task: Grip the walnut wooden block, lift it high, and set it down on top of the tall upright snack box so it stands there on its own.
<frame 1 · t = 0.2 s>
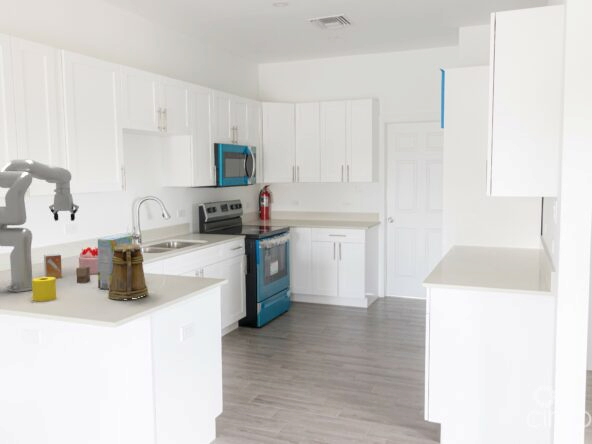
hand: (64, 220, 311), 31 cm above the counter, tool pointing down, fingers open, 9 cm apart
small box: (53, 277, 300), on the counter
walnut block: (83, 282, 287), on the counter
tankard: (129, 297, 253), on the counter
cake: (97, 271, 318), on the counter
tape roll: (44, 299, 251), on the counter
snack box: (116, 285, 280), on the counter
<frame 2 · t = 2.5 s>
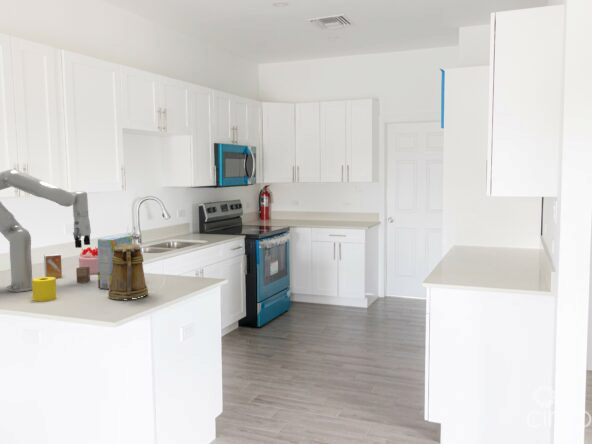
hand: (82, 246, 285), 20 cm above the counter, tool pointing down, fingers open, 9 cm apart
nothing on the counter moved.
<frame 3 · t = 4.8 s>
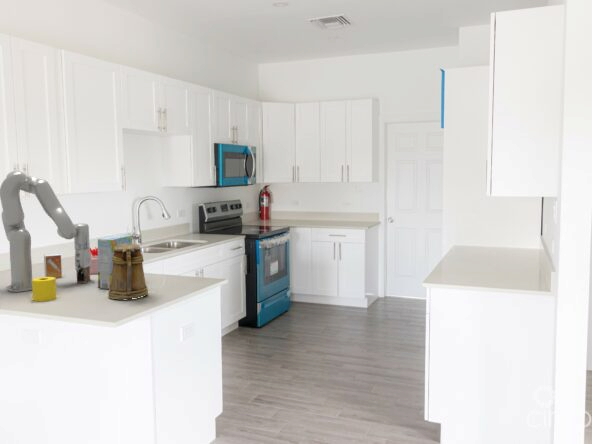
hand: (83, 279, 287), 1 cm above the counter, tool pointing down, fingers closed on walnut block, 5 cm apart
walnut block: (83, 282, 287), on the counter, touching gripper
everything else where it was.
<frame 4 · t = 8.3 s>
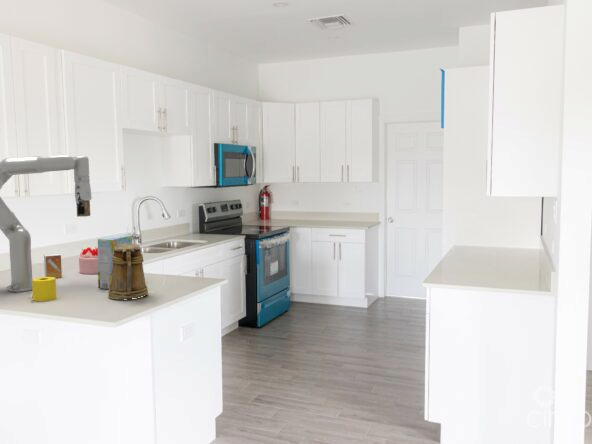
hand: (83, 213, 283), 38 cm above the counter, tool pointing down, fingers closed on walnut block, 5 cm apart
walnut block: (83, 216, 283), point 36 cm above the counter, touching gripper
everything else where it was.
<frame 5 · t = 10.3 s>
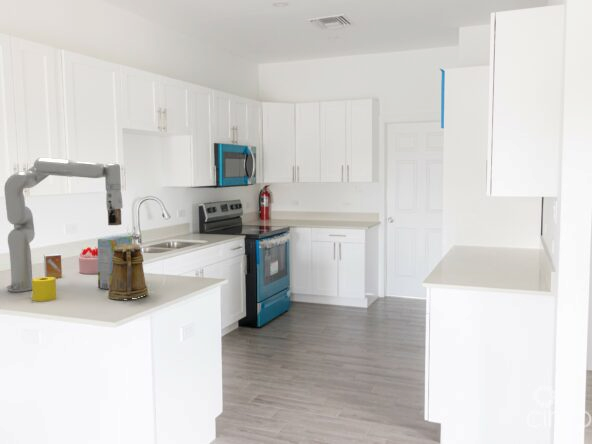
hand: (114, 222, 276), 33 cm above the counter, tool pointing down, fingers closed on walnut block, 5 cm apart
walnut block: (115, 224, 277), point 32 cm above the counter, touching gripper
everything else where it was.
when the fingers open (29 cm above the counter, at t = 11.9 s): walnut block drops 2 cm, resting on snack box.
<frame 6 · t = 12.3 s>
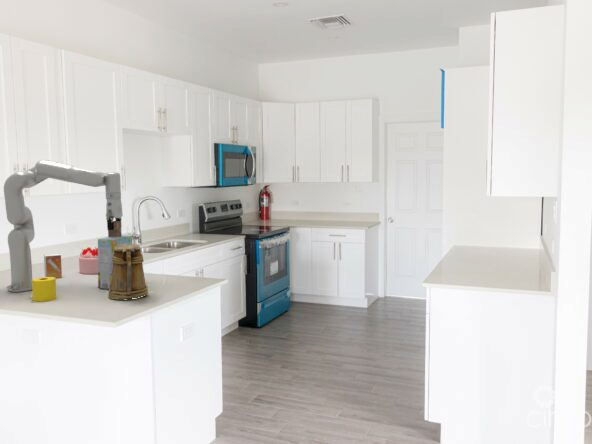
hand: (114, 228, 277), 30 cm above the counter, tool pointing down, fingers open, 9 cm apart
walnut block: (115, 236, 277), point 26 cm above the counter, touching snack box
snack box: (116, 285, 280), on the counter, touching walnut block
everything else where it was.
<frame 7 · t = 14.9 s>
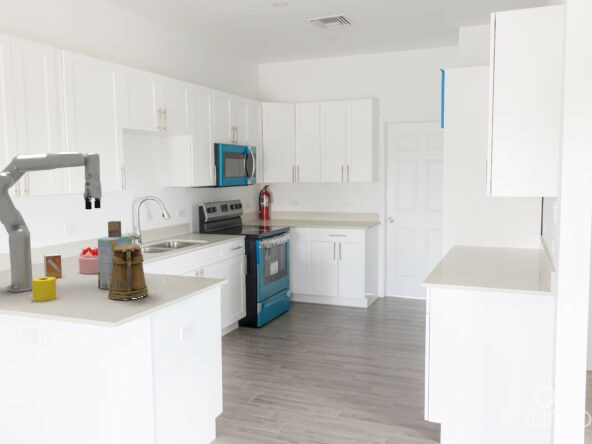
hand: (93, 208, 281), 40 cm above the counter, tool pointing down, fingers open, 9 cm apart
nothing on the counter moved.
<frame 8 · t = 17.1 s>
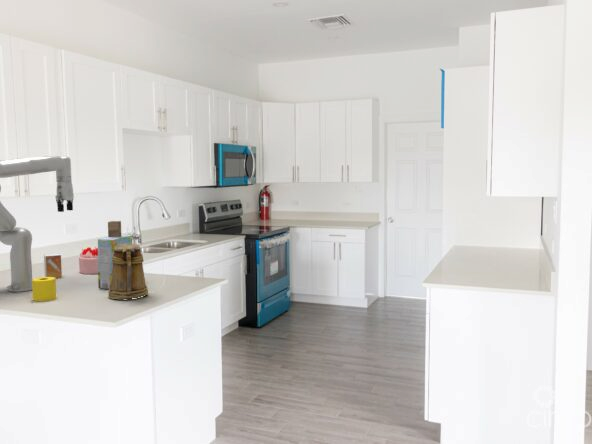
hand: (65, 210, 289), 38 cm above the counter, tool pointing down, fingers open, 9 cm apart
nothing on the counter moved.
at the end: walnut block inside the target area on the snack box (0.0 cm from its centre), point 25.9 cm above the snack box's base; the gripper is holding nothing; walnut block tilted 0° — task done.
